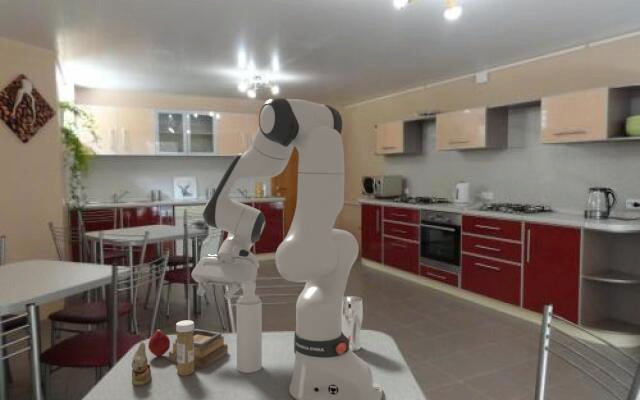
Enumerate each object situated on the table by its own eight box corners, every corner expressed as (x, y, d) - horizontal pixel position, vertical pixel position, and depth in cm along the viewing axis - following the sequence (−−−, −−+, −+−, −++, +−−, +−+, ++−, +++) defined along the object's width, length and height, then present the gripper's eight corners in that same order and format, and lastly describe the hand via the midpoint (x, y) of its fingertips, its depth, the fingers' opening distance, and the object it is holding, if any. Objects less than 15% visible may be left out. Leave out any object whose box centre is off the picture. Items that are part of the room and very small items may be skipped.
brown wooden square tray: (227, 352, 131) (227, 332, 130) (204, 368, 120) (204, 346, 120) (194, 346, 135) (194, 327, 135) (169, 360, 125) (168, 339, 125)
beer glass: (335, 345, 137) (335, 297, 136) (355, 341, 140) (355, 294, 139) (346, 353, 130) (346, 303, 130) (366, 349, 133) (367, 300, 132)
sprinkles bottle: (197, 373, 117) (196, 323, 116) (179, 377, 115) (178, 326, 114) (191, 367, 121) (191, 318, 120) (174, 371, 118) (173, 321, 118)
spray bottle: (232, 367, 121) (231, 276, 120) (253, 360, 126) (252, 272, 124) (245, 375, 116) (244, 281, 115) (266, 368, 121) (266, 277, 119)
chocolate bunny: (122, 386, 110) (121, 346, 109) (140, 372, 118) (139, 335, 117) (142, 388, 109) (142, 348, 109) (159, 373, 117) (158, 336, 116)
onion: (173, 353, 130) (173, 326, 130) (164, 361, 124) (164, 333, 124) (154, 352, 131) (154, 325, 130) (144, 360, 125) (144, 332, 124)
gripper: (199, 248, 138) (178, 286, 130) (256, 253, 131) (238, 294, 122) (208, 259, 143) (189, 297, 134) (264, 265, 135) (247, 306, 127)
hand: (213, 296), depth 128 cm, fingers open, 8 cm apart
